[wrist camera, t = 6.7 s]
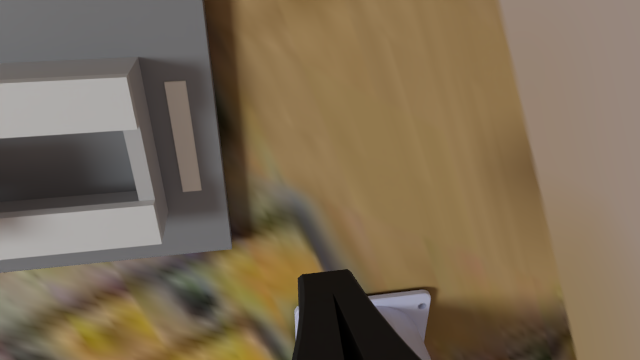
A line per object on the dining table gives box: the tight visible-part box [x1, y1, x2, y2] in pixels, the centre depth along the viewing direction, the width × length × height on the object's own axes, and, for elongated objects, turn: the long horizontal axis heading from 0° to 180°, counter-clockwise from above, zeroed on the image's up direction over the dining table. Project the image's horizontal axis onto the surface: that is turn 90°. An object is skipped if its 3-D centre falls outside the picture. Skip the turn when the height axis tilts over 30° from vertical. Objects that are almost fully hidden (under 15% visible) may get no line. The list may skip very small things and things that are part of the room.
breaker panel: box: [0, 0, 232, 273], centre depth 18 cm, size 12×16×3 cm
